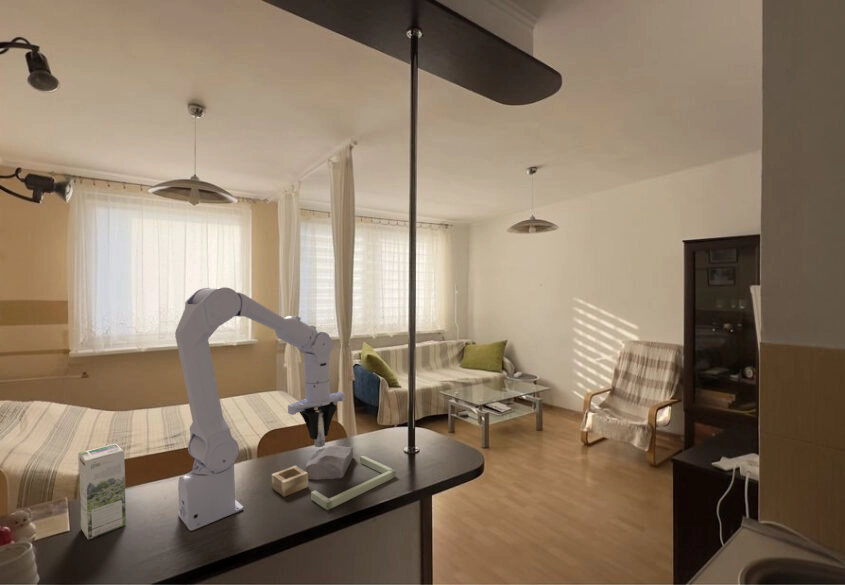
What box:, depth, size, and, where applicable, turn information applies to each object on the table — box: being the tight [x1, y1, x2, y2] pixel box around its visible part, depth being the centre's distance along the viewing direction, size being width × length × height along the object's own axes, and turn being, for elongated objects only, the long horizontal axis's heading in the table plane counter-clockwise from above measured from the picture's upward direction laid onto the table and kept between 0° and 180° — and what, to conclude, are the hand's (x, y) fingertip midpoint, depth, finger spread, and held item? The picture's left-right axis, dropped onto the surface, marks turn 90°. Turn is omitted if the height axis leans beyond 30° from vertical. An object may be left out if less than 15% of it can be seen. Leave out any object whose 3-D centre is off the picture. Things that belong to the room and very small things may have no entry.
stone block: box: [304, 445, 354, 480], centre depth 96 cm, size 12×5×10 cm
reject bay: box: [310, 455, 397, 511], centre depth 88 cm, size 18×12×2 cm, turn 136°
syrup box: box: [77, 443, 127, 541], centre depth 73 cm, size 6×6×14 cm
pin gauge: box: [314, 410, 326, 448], centre depth 95 cm, size 2×2×8 cm
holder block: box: [271, 465, 309, 498], centre depth 86 cm, size 6×6×3 cm
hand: (318, 436), depth 96 cm, fingers closed on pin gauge, 2 cm apart
